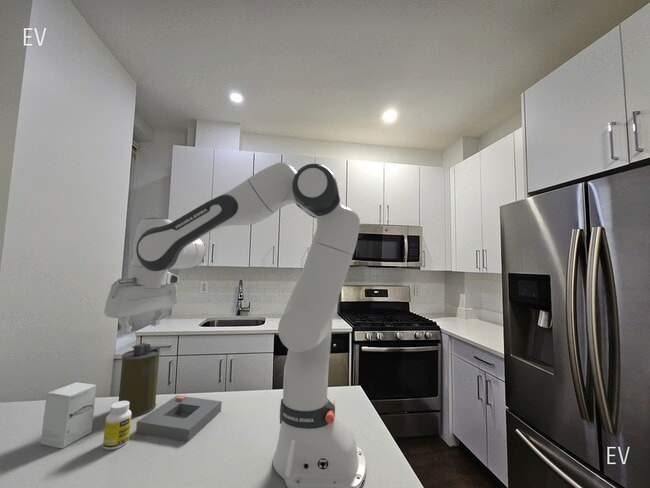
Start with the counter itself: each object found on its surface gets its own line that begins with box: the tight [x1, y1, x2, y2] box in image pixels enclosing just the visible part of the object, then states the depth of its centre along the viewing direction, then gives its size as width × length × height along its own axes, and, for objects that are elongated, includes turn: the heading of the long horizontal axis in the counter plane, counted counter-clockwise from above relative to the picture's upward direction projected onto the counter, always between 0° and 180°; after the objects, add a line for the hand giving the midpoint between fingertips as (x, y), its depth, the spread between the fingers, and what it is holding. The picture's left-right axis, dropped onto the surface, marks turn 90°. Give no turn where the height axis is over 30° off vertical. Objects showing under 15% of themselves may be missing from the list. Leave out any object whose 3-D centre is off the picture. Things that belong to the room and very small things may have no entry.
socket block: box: [135, 395, 222, 442], centre depth 83 cm, size 16×16×4 cm
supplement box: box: [40, 381, 97, 449], centre depth 74 cm, size 7×7×13 cm
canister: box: [117, 342, 161, 418], centre depth 90 cm, size 11×10×20 cm
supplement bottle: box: [102, 400, 132, 451], centre depth 72 cm, size 5×5×10 cm
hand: (141, 328), depth 75 cm, fingers open, 8 cm apart
